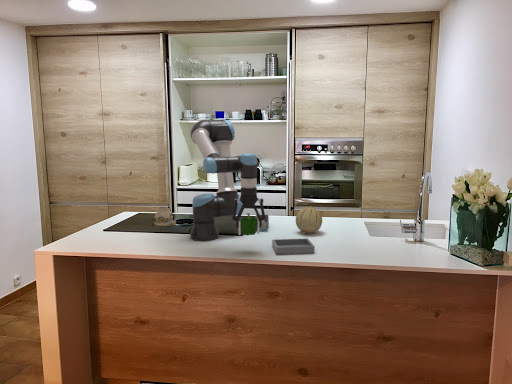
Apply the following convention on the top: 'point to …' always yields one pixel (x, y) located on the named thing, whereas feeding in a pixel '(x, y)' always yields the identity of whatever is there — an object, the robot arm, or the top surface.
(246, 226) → the bell pepper
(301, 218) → the cantaloupe
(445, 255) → the top surface
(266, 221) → the beverage carton
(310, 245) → the tray
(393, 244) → the top surface
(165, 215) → the ceramic model
